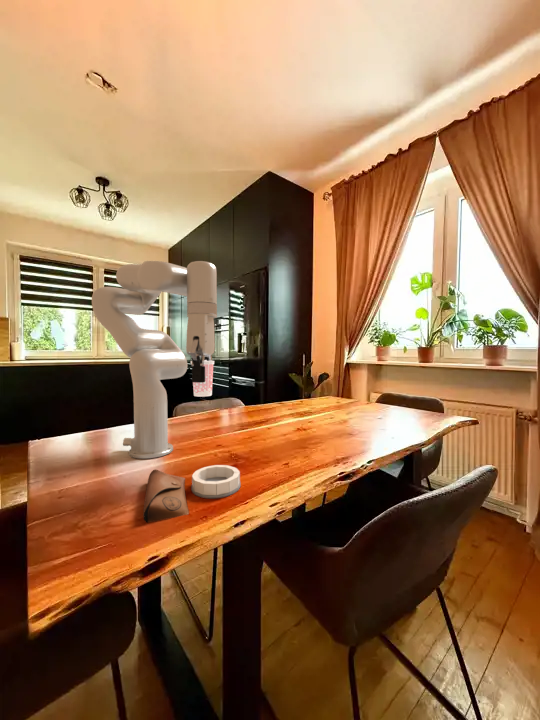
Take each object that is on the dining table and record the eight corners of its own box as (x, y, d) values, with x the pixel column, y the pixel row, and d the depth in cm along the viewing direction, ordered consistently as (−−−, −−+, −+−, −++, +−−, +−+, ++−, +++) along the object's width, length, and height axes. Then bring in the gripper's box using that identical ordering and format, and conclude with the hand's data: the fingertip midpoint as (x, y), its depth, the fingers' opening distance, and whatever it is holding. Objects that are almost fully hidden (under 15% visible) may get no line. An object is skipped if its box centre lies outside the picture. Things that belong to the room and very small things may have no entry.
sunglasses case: (192, 514, 57) (172, 487, 55) (158, 540, 55) (137, 512, 54) (185, 477, 74) (170, 455, 72) (159, 495, 72) (143, 474, 70)
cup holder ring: (184, 497, 63) (184, 483, 63) (200, 476, 74) (200, 464, 74) (235, 499, 63) (235, 485, 63) (244, 477, 74) (244, 465, 73)
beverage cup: (207, 393, 83) (206, 342, 82) (219, 395, 78) (219, 341, 78) (186, 395, 78) (186, 341, 78) (198, 397, 74) (197, 341, 74)
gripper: (198, 315, 87) (198, 377, 87) (175, 306, 69) (175, 384, 70) (224, 315, 86) (224, 378, 87) (206, 306, 69) (207, 384, 69)
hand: (202, 380), depth 78 cm, fingers closed on beverage cup, 6 cm apart
